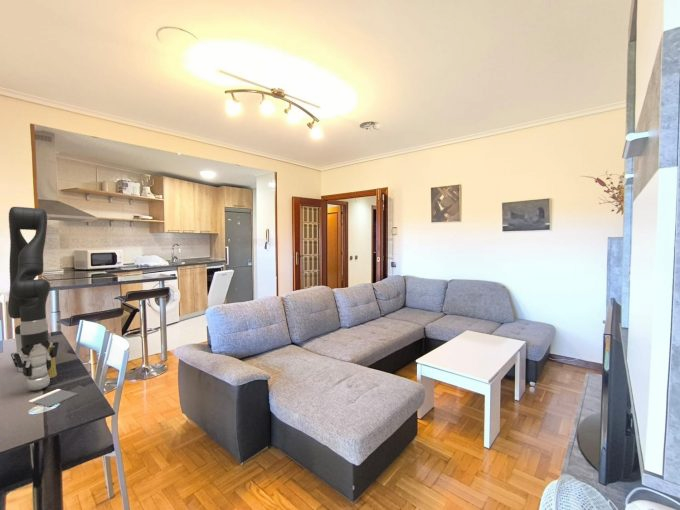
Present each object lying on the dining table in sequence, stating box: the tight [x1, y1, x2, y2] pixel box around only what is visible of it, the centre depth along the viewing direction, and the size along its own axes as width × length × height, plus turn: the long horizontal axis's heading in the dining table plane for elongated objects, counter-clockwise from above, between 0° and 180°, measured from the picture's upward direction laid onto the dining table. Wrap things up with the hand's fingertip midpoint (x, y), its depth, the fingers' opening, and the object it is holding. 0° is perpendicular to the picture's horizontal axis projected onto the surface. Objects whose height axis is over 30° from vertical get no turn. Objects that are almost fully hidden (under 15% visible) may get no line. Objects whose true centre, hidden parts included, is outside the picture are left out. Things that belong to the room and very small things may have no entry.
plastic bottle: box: [25, 343, 51, 391], centre depth 119 cm, size 6×7×20 cm
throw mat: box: [28, 388, 79, 408], centre depth 113 cm, size 12×9×1 cm
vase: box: [47, 346, 58, 379], centre depth 130 cm, size 6×6×14 cm
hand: (37, 372), depth 119 cm, fingers closed on plastic bottle, 5 cm apart
